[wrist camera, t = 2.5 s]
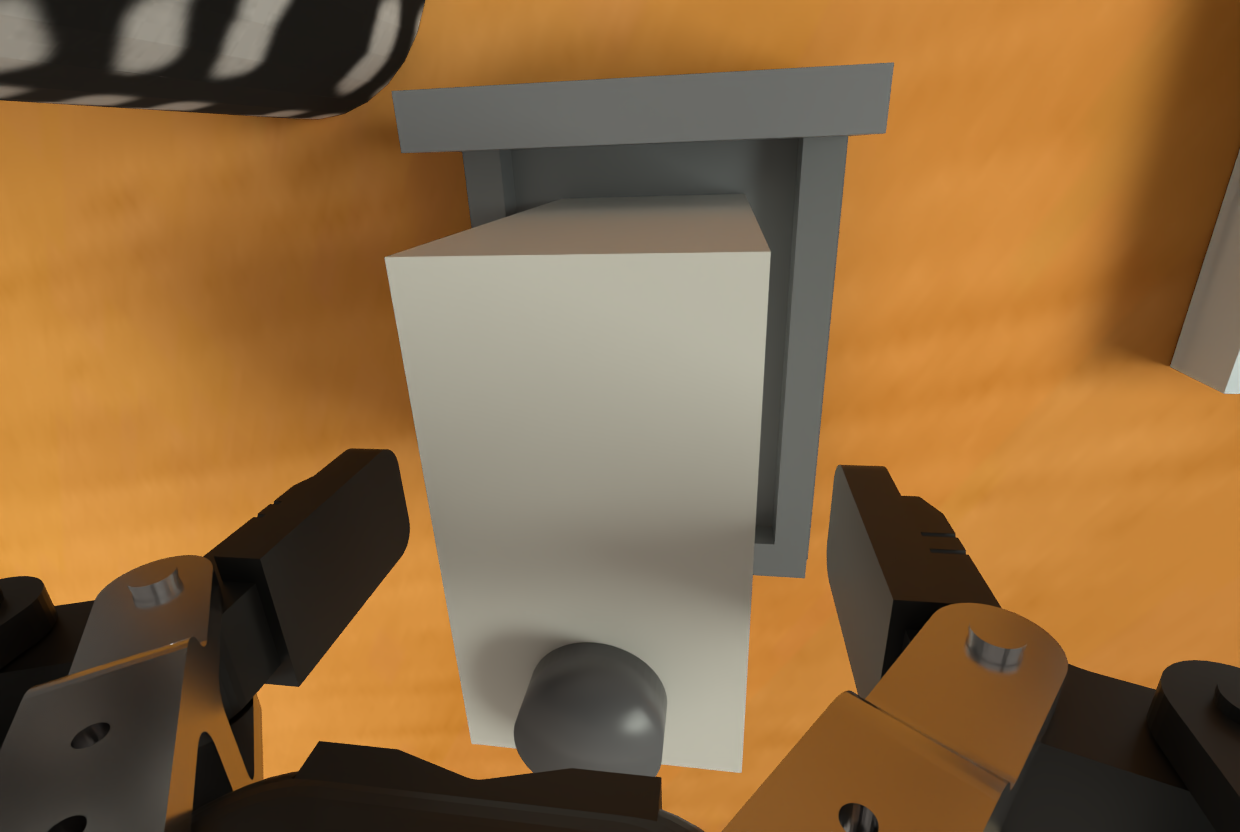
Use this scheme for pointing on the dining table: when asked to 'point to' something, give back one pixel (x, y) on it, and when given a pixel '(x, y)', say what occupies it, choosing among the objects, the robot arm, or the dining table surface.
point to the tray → (1216, 305)
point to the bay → (693, 165)
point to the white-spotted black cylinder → (205, 53)
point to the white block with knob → (594, 471)
